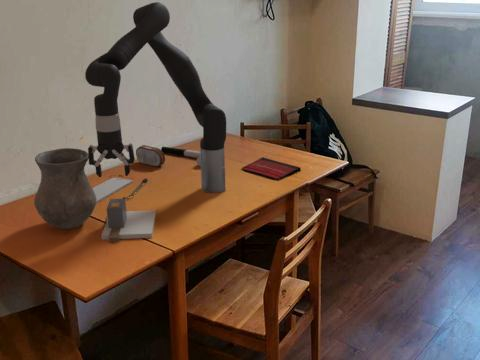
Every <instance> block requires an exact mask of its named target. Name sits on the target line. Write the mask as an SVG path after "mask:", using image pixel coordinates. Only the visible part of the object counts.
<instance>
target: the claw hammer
mask: <svg viewBox="0 0 480 360" xmlns="http://www.w3.org/2000/svg"><path fill="white" fill-rule="evenodd" d="M160 150H161V151H162V152H163V154H167V155H174V156H180V157H192V158H197V159H196V165H198V167H200V168H201V152H200V151H199V150H190V149H184V148H178V147H177V148H176V147H169V146H168V147H167V146H162V147H161V148H160Z"/></svg>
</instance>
